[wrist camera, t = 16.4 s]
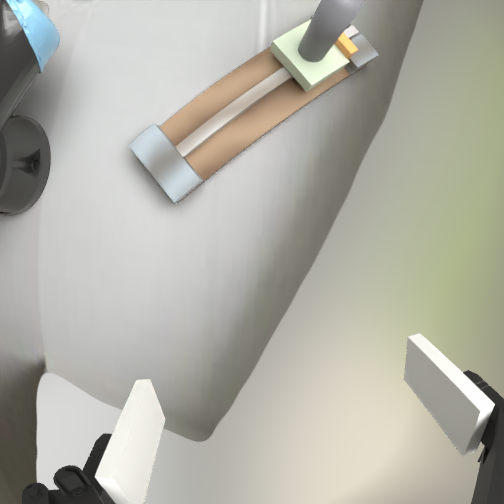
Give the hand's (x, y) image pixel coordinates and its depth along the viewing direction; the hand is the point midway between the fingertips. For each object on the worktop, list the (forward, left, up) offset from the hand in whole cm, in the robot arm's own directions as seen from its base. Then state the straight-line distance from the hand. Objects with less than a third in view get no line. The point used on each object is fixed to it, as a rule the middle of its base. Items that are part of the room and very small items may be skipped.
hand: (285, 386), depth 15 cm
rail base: (-16, +13, -29) cm, 35 cm away
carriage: (-16, +20, -25) cm, 36 cm away
